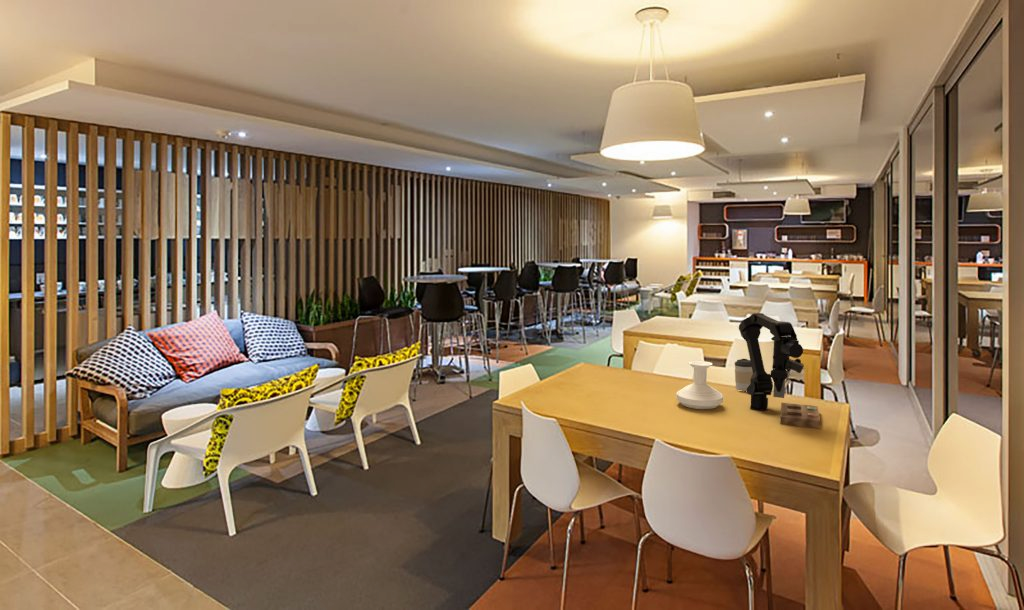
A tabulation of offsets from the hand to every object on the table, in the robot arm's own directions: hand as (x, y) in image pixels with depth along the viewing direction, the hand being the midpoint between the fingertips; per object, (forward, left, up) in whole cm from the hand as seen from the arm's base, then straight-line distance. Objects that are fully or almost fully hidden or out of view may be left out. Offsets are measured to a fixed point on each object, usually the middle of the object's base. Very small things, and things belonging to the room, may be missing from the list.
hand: (779, 390), depth 242 cm
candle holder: (-32, +7, -12) cm, 35 cm away
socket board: (+8, +4, -12) cm, 15 cm away
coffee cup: (-16, +43, -12) cm, 47 cm away
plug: (0, 0, -2) cm, 2 cm away
